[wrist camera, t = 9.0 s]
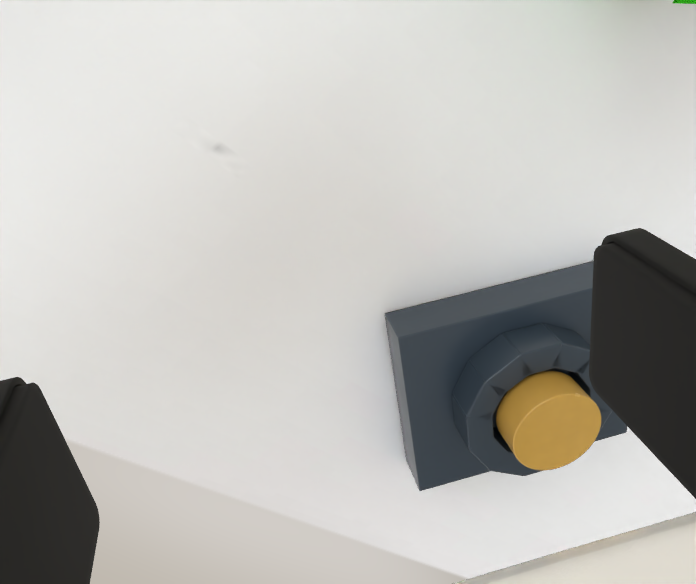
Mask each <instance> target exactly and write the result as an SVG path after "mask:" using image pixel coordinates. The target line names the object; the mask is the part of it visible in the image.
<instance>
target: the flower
mask: <svg viewBox="0 0 696 584" xmlns="http://www.w3.org/2000/svg"><path fill="white" fill-rule="evenodd" d="M673 3H685V4H696V0H674V1H673Z"/></svg>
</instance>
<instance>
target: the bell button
mask: <svg viewBox="0 0 696 584" xmlns="http://www.w3.org/2000/svg"><path fill="white" fill-rule="evenodd" d="M496 424H497V428H498V430H499V432H500V434H501V436H502V437H503V439H504V440H505V442H506V443H507V445H508V446H509V448H510V449H511V451H512V452H513V454H514V455H515V457H516V458H517V460H518V461H519V462H520V463H521V464H523V465H524V466H526V467H528V468H531V469H535V470H552V469H556V468H559V467H562V466H565V465H567V464H569V463H571V462H573V461H574V460H576V459H577V458H579V457H580V456H581V455H582V454H584V453H585V452H586V451H587V450H588V449H589V447H590V446H591V445H592V444H593V442H594V441H595V439H596V437H597V435H598V433H599V430H600V427H601V413H600V410H599V407H598V406H597V404H596V403H595V402H594V401H593V400H592V399H591V398H590V396H589V395H588V394H587V393H586V392H585V391H584V390H583V389H582V388H581V387H580V386H579V385H578V383H577V382H576V381H575V380H574V379H573V378H572V377H570V376H569V375H567V374H565V373H562V372H558V371H543V372H538V373H535V374H532V375H530V376H527V377H526V378H524V379H523V380H522V381H520V382H519V383H518V384H516V385H515V386H514V387H513V388H511V389H510V390H509V391H508V392H507V393H506V394H505V395H504V397H503V398H502V400H501V402H500V404H499V406H498V409H497V414H496Z"/></svg>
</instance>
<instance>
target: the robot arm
mask: <svg viewBox="0 0 696 584" xmlns="http://www.w3.org/2000/svg"><path fill="white" fill-rule="evenodd" d="M589 377H590V382H591V384H592V387H593V388H594V390H595V392H596V393H597V394H598V395H599V396H600V397H601V399H602V400H603V401H604V402H605V403H606V404H607V405H608V406H609V407H610V408H611V409H612V410H613V411H614V412H615V413H616V415H617V416H618V417H619V418H620V419H621V420H622V421H623V422H624V423H625V424H626V425H627V426H628V427H629V428H630V429H631V430H632V432H633V433H634V434H635V435H636V436H637V437H638V438H639V439H640V440H641V441H642V442H643V443H644V444H645V445H646V446H647V447H648V449H649V450H650V451H651V452H652V453H653V454H654V455H655V456H656V457H657V458H658V459H659V460H660V461H661V462H662V463H663V464H664V466H665V467H666V468H667V469H668V470H669V471H670V472H671V473H672V474H673V475H674V476H675V477H676V478H677V479H678V480H679V481H680V483H681V484H682V485H683V486H684V487H685V488H686V489H687V490H688V491H689V492H690V493H691V494H692V495H693V496H694V497H695V498H696V259H694V258H692V257H691V256H689V255H687V254H685V253H684V252H682V251H680V250H679V249H677V248H675V247H673V246H672V245H670V244H668V243H667V242H665V241H663V240H661V239H660V238H658V237H656V236H655V235H653V234H651V233H650V232H648V231H646V230H644V229H641V228H638V229H633V230H629V231H625V232H621V233H616V234H612V235H608V236H606V237H605V238H604V240H603V242H602V245H601V246H598V247H597V248H596V250H595V252H594V264H593V287H592V311H591V335H590V359H589ZM98 532H99V514H98V509H97V506H96V503H95V501H94V499H93V497H92V495H91V493H90V491H89V489H88V486H87V484H86V482H85V480H84V478H83V476H82V474H81V472H80V470H79V468H78V466H77V464H76V462H75V460H74V458H73V455H72V454H71V451H70V449H69V447H68V445H67V443H66V441H65V439H64V437H63V435H62V433H61V431H60V429H59V426H58V424H57V422H56V420H55V418H54V416H53V414H52V412H51V410H50V408H49V406H48V404H47V402H46V400H45V398H44V396H43V393H42V391H41V390H40V388H39V386H38V385H37V384H35V383H29V384H26V383H25V382H24V381H23V380H22V379H21V378H19V377H15V378H11V379H7V380H2V381H0V584H90V578H91V572H92V566H93V561H94V555H95V549H96V543H97V537H98ZM454 584H696V512H694V513H691V514H687V515H684V516H680V517H677V518H673V519H670V520H667V521H663V522H660V523H656V524H653V525H650V526H646V527H643V528H639V529H636V530H632V531H629V532H626V533H622V534H619V535H615V536H612V537H609V538H605V539H602V540H598V541H595V542H591V543H588V544H585V545H581V546H578V547H574V548H571V549H568V550H564V551H561V552H557V553H554V554H551V555H547V556H544V557H541V558H537V559H534V560H531V561H527V562H524V563H521V564H517V565H514V566H510V567H507V568H504V569H500V570H497V571H494V572H490V573H487V574H484V575H480V576H477V577H474V578H470V579H467V580H463V581H460V582H457V583H454Z"/></svg>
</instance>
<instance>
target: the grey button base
mask: <svg viewBox="0 0 696 584" xmlns="http://www.w3.org/2000/svg"><path fill="white" fill-rule="evenodd" d="M593 264H594V261H593V262H589V263H585V264H581V265H577V266H573V267H569V268H565V269H561V270H557V271H553V272H549V273H545V274H541V275H537V276H533V277H529V278H525V279H521V280H517V281H513V282H509V283H505V284H501V285H497V286H493V287H489V288H485V289H481V290H477V291H473V292H469V293H465V294H461V295H457V296H453V297H449V298H445V299H441V300H437V301H433V302H429V303H425V304H421V305H417V306H413V307H409V308H405V309H401V310H397V311H393V312H389V313H385V319H386V325H387V332H388V339H389V346H390V352H391V359H392V366H393V373H394V379H395V386H396V393H397V399H398V406H399V413H400V420H401V426H402V433H403V440H404V447H405V453H406V460H407V463H408V465H409V468H410V470H411V472H412V475H413V477H414V479H415V482H416V484H417V486H418V489H419V490H420V491H422V490H426V489H429V488H433V487H436V486H440V485H443V484H447V483H450V482H454V481H457V480H461V479H464V478H468V477H471V476H475V475H478V474H482V473H485V472H489V471H495V472H501V473H508V474H514V475H520V476H526V475H530V474H533V473H537V472H540V471H544V470H535V469H531V468H528V467H526V466H524V465H523V464H521V463H520V462H519V461H518V460H517V458H516V457H515V455H514V454H513V452H512V451H511V449H510V448H509V446H508V445H507V443H506V442H505V440H504V439H503V437H502V436H501V434H500V432H499V430H498V428H497V424H496V414H497V409H498V406H499V404H500V402H501V400H502V398H503V397H504V395H505V394H506V393H507V392H508V391H509V390H510V389H511V388H513V387H514V386H515V385H516V384H518V383H519V382H520V381H522V380H523V379H524V378H526V377H527V376H530V375H532V374H535V373H538V372H543V371H558V372H562V373H565V374H567V375H569V376H570V377H572V378H573V379H574V380H575V381H576V382H577V383H578V385H579V386H580V387H581V388H582V389H583V390H584V391H585V392H586V393H587V394H588V395H589V396H590V398H591V399H592V400H593V401H594V402H595V403H596V404H597V406H598V407H599V410H600V413H601V427H600V430H599V433H598V435H597V437H596V439H595V441H598V440H601V439H605V438H608V437H612V436H615V435H619V434H622V433H626V432H627V425H626V424H625V423H624V422H623V421H622V420H621V419H620V418H619V417H618V416H617V415H616V413H615V412H614V411H613V410H612V409H611V408H610V407H609V406H608V405H607V404H606V403H605V402H604V401H603V400H602V399H601V397H600V396H599V395H598V394H597V393H596V392H595V390H594V388H593V387H592V384H591V382H590V377H589V359H590V335H591V311H592V287H593Z"/></svg>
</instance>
